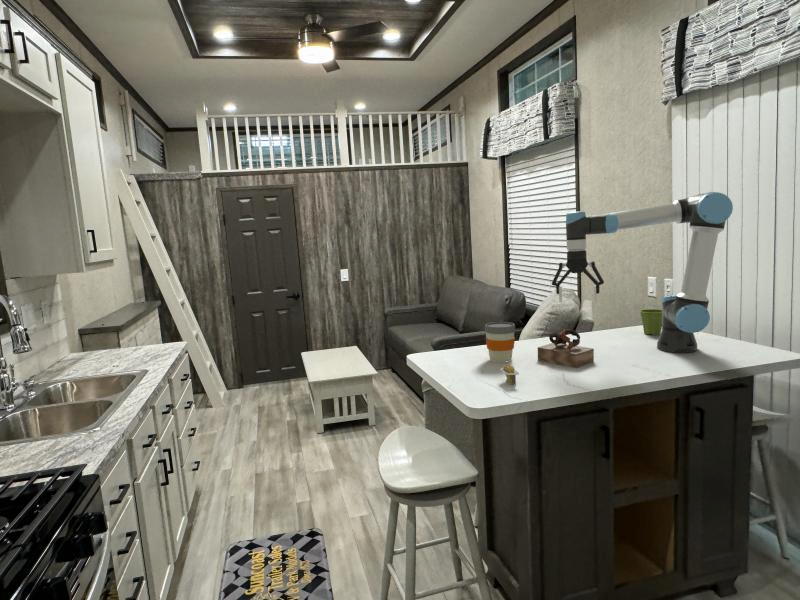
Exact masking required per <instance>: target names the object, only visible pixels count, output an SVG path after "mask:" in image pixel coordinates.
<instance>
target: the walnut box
mask: <svg viewBox="0 0 800 600" xmlns="http://www.w3.org/2000/svg"><path fill="white" fill-rule="evenodd" d="M568 345H569V343H566V345H565V344H558V345H557V346H555V344H554V343H552V342H551V343H548V344H545V345H541V346H538V347H537V361H540V362H545V363H549V362H550V364H555V365H560V366H565V367H568V368H574V369H577V368H580V367H583V366H586V364H587V365H589V364H592V363H594V362H595V359H594V358H595V356H594V354H595V352H594V351H595V350H594V348H592V347H587V346H580V345H577V346H575V347H573V348H572V349H571V350H570V349H568V348H567V347H568Z"/></svg>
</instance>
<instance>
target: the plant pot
mask: <svg viewBox="0 0 800 600" xmlns="http://www.w3.org/2000/svg"><path fill="white" fill-rule="evenodd" d="M638 311H639V312H640V313H639V314H640V317H641V320H642V328H643V333H644V334H645V335H652V336H656V335H657V336H658V335H659V336H660V334H661V332H662V309H658V308H657V309H656V308H644V309H640V310H638Z"/></svg>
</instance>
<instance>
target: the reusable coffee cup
mask: <svg viewBox="0 0 800 600" xmlns="http://www.w3.org/2000/svg"><path fill="white" fill-rule="evenodd" d="M515 332H516V325H515V323H513V322H509V321H495V322H493V321H492V322H488V323H485V325H484V333H485V343H486V349H487V350H488V356H489V360H491V362H493V361H496V362H495V363H507V362H506V361H509V362H511V361H512V357H513V350H514V348H515V341H516V337H515ZM510 360H511V361H510Z"/></svg>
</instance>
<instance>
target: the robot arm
mask: <svg viewBox="0 0 800 600" xmlns="http://www.w3.org/2000/svg"><path fill="white" fill-rule="evenodd" d="M733 205H734V204H733V202H732V200H731V199H730V197H729V196H728V195H726V194H725V193H723V192H718V191H717V192H716V191H710V192H709V191H708V192H706V193H699V194H697V195H696V194H695V195H692V196H690V197H686V198H683V199H682V198H681V199H676V200H675V201H673V202H672V203H665V204H660V205H654V206H648V207H646V206H645V207H641V208H634V209H628V210H622V211H615V212H610V213H603V214H594V215H587V214H586V211H583V210H581V211H571V212H567V213H566V215H565V232H566V233H565V235H566V237H565V238H566V250H567V252H566V262H559V263H558V269H557V271H556V274H555V276H554V277H553V279H552V282H551V286H554V287H555V289H556V290H555V291H556V295H559V296H558V297H559V298H558V300H559V301H558V302H559V303H562V302H563V286H562V285H561V284H563V283H564V282H565V280H566V278H567V277H568V276H569V275H570V274H571V273H572V274H576V273H577V274H581V273H583V274H584V275H585V276H586V277H588V278H589V280H591V282H592V284H594V285H593V300H594V301H593V302H594V303H597V302H598V297H597V296H598V294H600V286H602V285H604V284H605V281H604V279H603V277H602V276H601V274H600V271H599V270H598V268H597V266H596V262H595V260H592V261H588V260H587V250H586V249H587V235H605V234H615V233H617V232H618V231H620V230H627V229H633V228H640V227H642V228H643V227H648V226H654V225H655V226H656V225H661V224H662V225H663V224H667V223H676V224H686V223H687V224H689V228H690V229H691V231H692V233H691V238H690V244H689V249H688V254H687V260H686V266H685V268H684V275H683V280H682V285H681V290H680V292H678V293H677V294H676V295H675V294H674V295H664V296H663V297H662V303H661V304H662V306H661V310H662V329H661V333H660V334H659V337H658V340H657V342H656V348H657V350H660V351H664V352H667V353H668V352H669V353H677V354H679V353H682V354H684V353H685V354H686V353H694V352H697V351H698V343H697V339H696V336H695V333H699V332H702V331H703V330H705V329H706V327H707V326H708V325H709V323H710V320H711V319H710V318H711V316H710V312H709V309H708V308H709V303H710V299H709V298H708V297H707V289H708V285H709V280H710V276H711V271H712V266H713V261H714V258H715V257H714V256H715V251H716V246H717V242H718V239H719V238H718V237H719V234H720V233H721V232H723V231H724V230H725V225H726V221H728V219H729V218H730V217H731V215H732V214H733V210H734V208H733V207H734V206H733ZM588 266H589V267H590V268H591V270H592V271H593V272H594V274H595V276H596V277H597V279H596V277H594V276H593V275H592V274H591V272H590V271H589V270H588V269H587V267H588ZM565 267H566V268H567V271H566V272H565V273H564V275H562V277H561V278H560V279H558V278H559V277H560V275H561V272H562V271H563V268H565Z"/></svg>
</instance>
